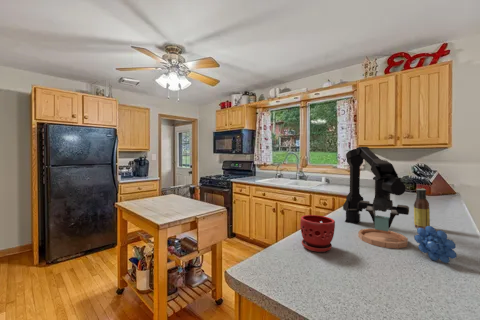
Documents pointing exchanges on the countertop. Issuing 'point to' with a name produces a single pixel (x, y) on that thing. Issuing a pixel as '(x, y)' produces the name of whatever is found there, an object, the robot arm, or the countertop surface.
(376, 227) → the block
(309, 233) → the plant pot
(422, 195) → the sauce bottle
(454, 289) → the countertop surface
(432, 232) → the grapes
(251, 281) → the countertop surface
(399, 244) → the dish
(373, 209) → the robot arm
